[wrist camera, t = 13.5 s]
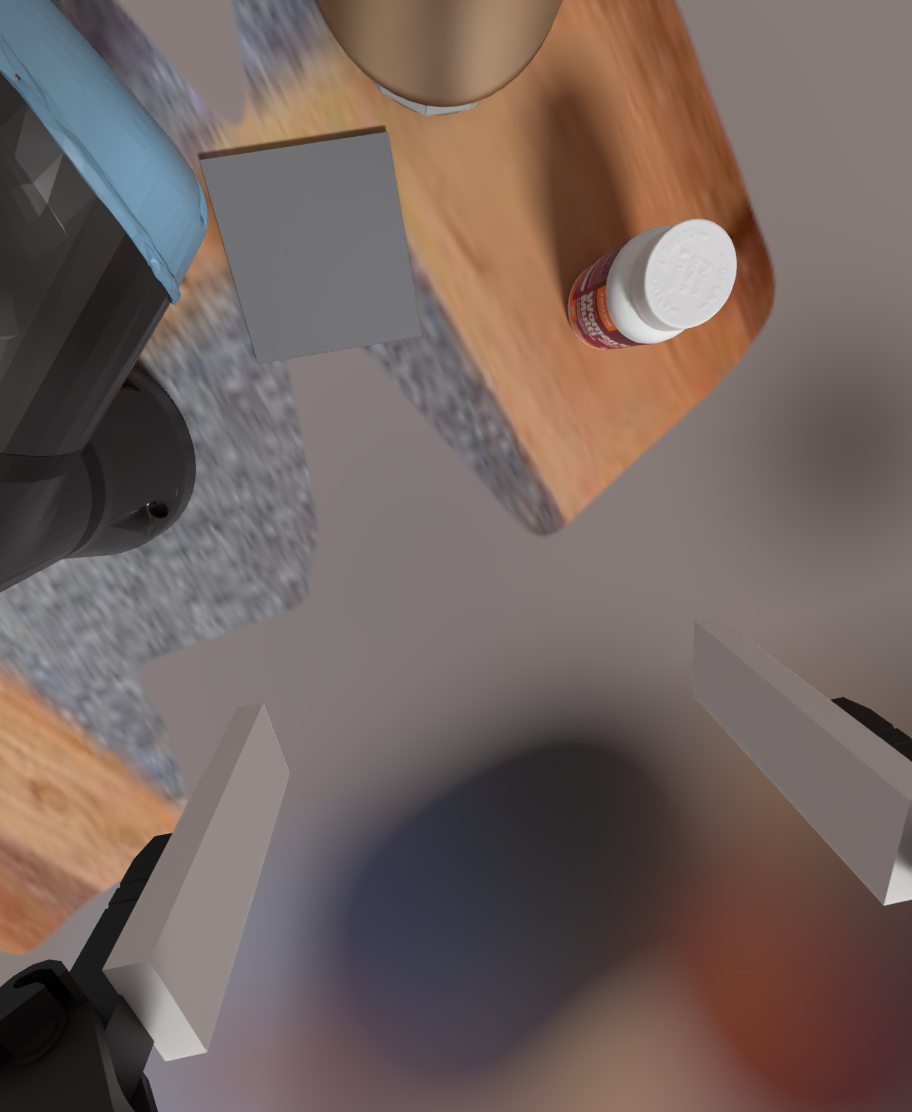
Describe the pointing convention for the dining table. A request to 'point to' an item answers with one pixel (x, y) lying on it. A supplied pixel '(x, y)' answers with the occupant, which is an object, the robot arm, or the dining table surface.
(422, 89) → the lid
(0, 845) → the dining table surface
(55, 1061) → the robot arm
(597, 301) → the pill bottle
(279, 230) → the mat
